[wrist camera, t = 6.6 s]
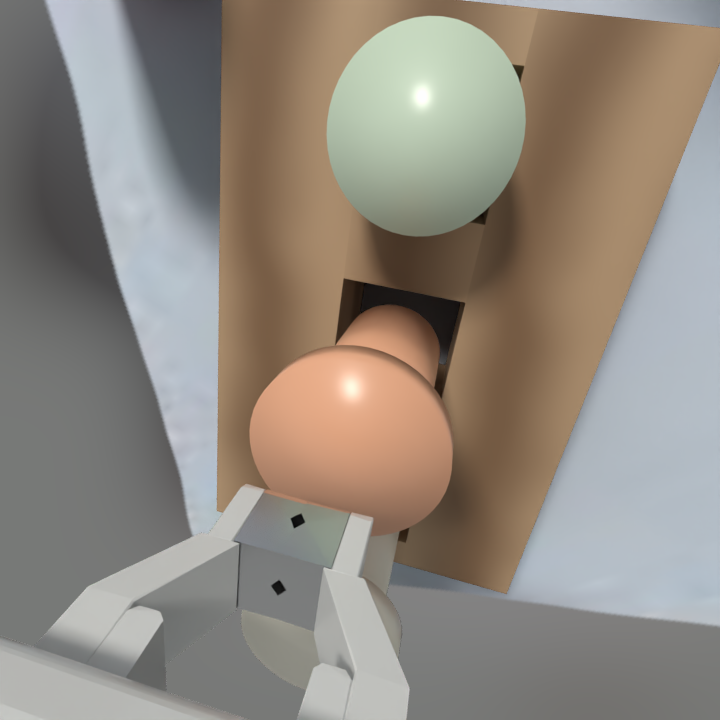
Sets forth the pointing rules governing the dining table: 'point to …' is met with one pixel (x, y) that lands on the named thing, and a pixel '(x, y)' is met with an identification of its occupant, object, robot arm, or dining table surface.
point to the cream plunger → (297, 645)
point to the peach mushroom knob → (360, 423)
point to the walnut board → (450, 240)
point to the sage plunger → (426, 126)
